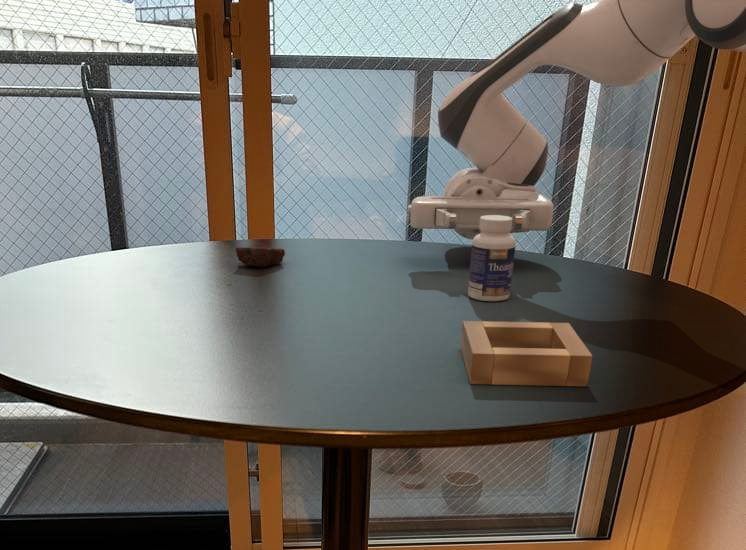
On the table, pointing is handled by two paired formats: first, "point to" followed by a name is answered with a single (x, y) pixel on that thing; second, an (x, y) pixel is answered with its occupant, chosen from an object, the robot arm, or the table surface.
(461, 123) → the robot arm
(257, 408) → the table surface
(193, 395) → the table surface
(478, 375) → the socket block
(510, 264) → the pill bottle
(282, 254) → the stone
